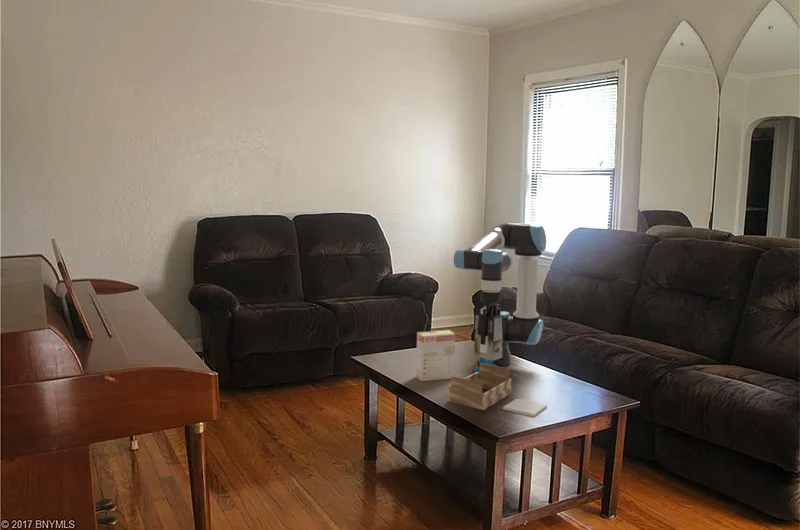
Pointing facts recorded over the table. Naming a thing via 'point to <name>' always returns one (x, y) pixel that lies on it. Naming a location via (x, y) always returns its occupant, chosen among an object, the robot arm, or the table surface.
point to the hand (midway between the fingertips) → (488, 350)
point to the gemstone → (485, 361)
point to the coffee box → (491, 338)
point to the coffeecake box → (435, 355)
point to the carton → (471, 387)
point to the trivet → (525, 407)
